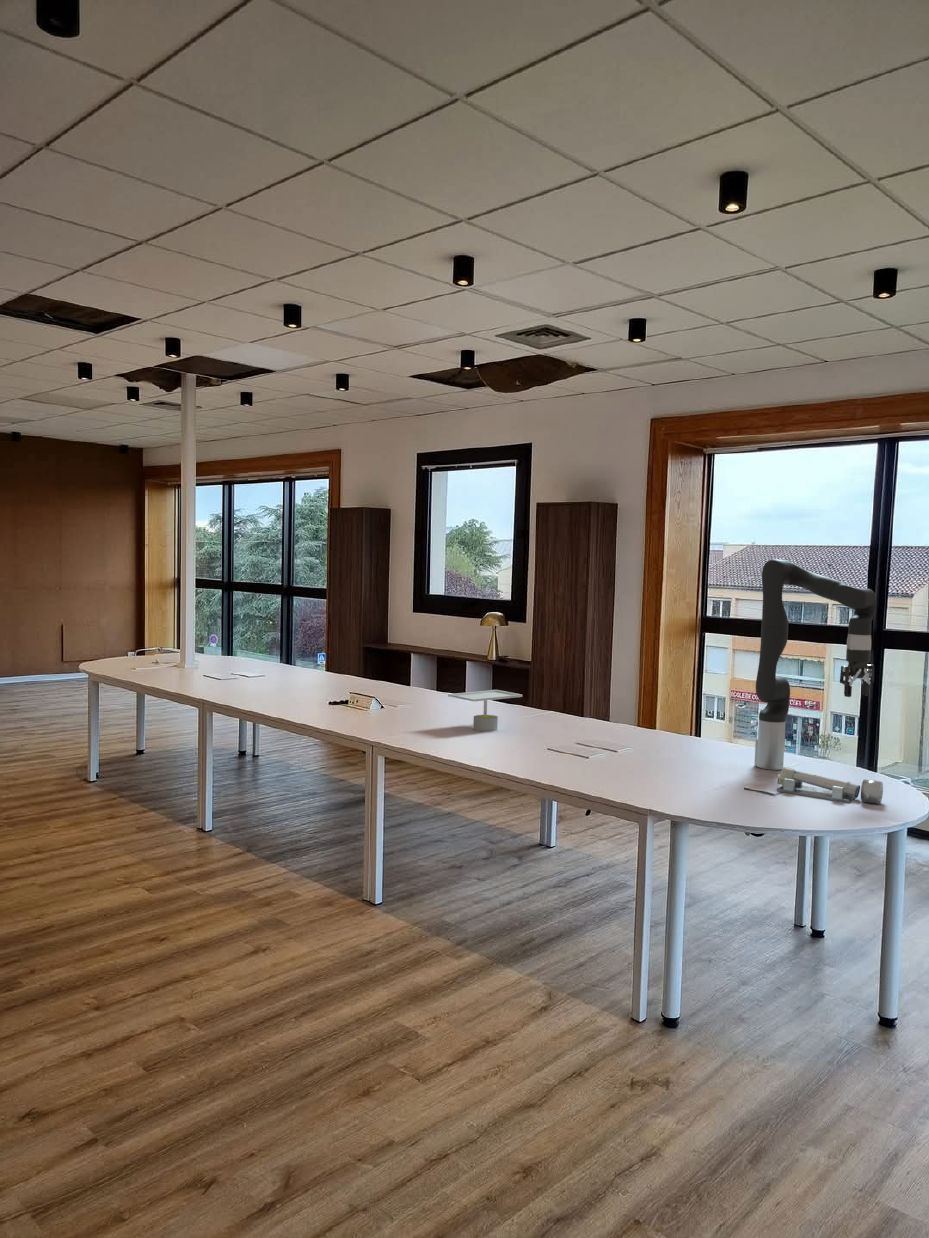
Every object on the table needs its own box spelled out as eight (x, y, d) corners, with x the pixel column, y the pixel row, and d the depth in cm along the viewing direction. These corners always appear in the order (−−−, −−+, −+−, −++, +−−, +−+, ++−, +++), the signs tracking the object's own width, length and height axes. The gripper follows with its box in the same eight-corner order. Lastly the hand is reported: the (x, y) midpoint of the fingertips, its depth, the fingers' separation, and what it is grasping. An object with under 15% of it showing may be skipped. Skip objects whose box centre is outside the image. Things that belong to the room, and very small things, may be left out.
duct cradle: (777, 791, 298) (778, 769, 298) (786, 785, 307) (787, 764, 306) (876, 807, 281) (877, 784, 280) (883, 800, 289) (884, 778, 289)
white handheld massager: (858, 786, 287) (778, 764, 301) (853, 806, 288) (774, 783, 302) (861, 783, 291) (782, 761, 305) (857, 803, 292) (778, 780, 306)
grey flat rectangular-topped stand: (495, 722, 410) (496, 689, 410) (521, 728, 397) (522, 694, 396) (446, 728, 393) (447, 694, 392) (472, 735, 380) (473, 699, 379)
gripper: (863, 646, 314) (860, 693, 315) (835, 647, 307) (832, 695, 308) (882, 648, 308) (879, 696, 309) (854, 649, 301) (851, 698, 302)
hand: (856, 696), depth 308 cm, fingers open, 8 cm apart
